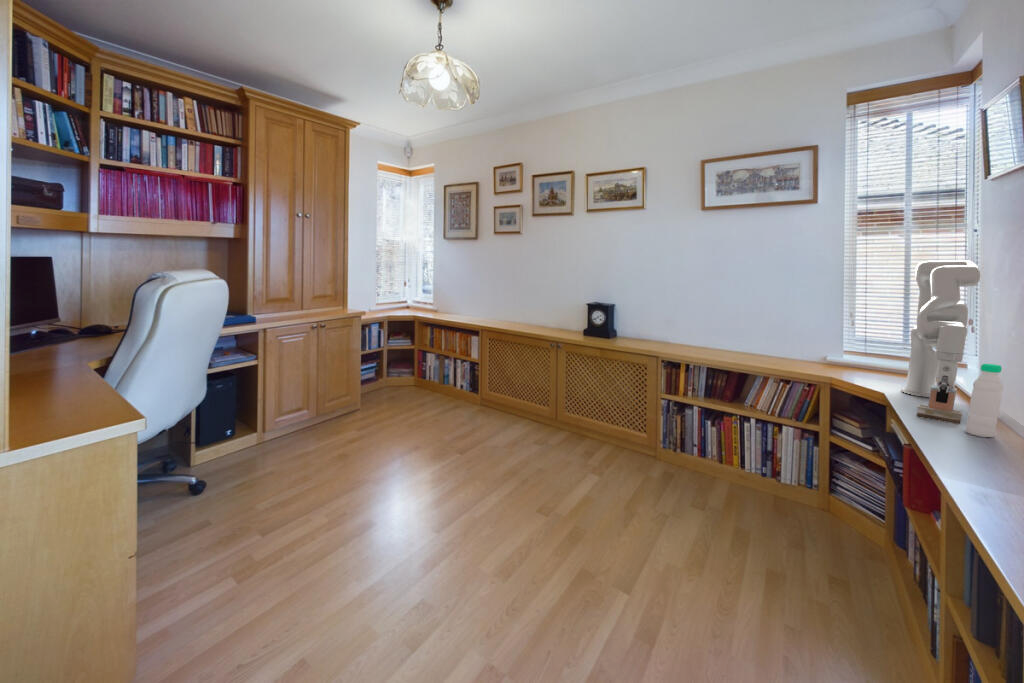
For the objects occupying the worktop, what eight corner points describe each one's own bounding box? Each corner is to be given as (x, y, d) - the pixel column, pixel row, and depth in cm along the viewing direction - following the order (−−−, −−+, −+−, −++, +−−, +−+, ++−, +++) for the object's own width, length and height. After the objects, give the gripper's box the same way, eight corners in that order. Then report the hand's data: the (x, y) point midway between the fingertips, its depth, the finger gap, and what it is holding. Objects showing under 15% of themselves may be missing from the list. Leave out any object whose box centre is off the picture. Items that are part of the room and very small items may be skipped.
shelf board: (919, 408, 181) (921, 399, 180) (961, 415, 172) (962, 405, 172) (916, 416, 171) (917, 407, 170) (959, 424, 163) (961, 414, 162)
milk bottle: (981, 438, 149) (994, 367, 145) (959, 431, 156) (970, 362, 152) (1000, 437, 150) (1013, 366, 146) (977, 430, 157) (989, 362, 153)
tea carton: (928, 408, 175) (931, 384, 174) (952, 412, 170) (956, 388, 169) (927, 412, 172) (930, 387, 170) (952, 416, 167) (956, 391, 165)
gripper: (962, 361, 159) (954, 406, 162) (963, 354, 170) (956, 396, 173) (933, 358, 164) (926, 402, 167) (936, 351, 176) (930, 393, 179)
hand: (942, 399), depth 170 cm, fingers open, 9 cm apart
